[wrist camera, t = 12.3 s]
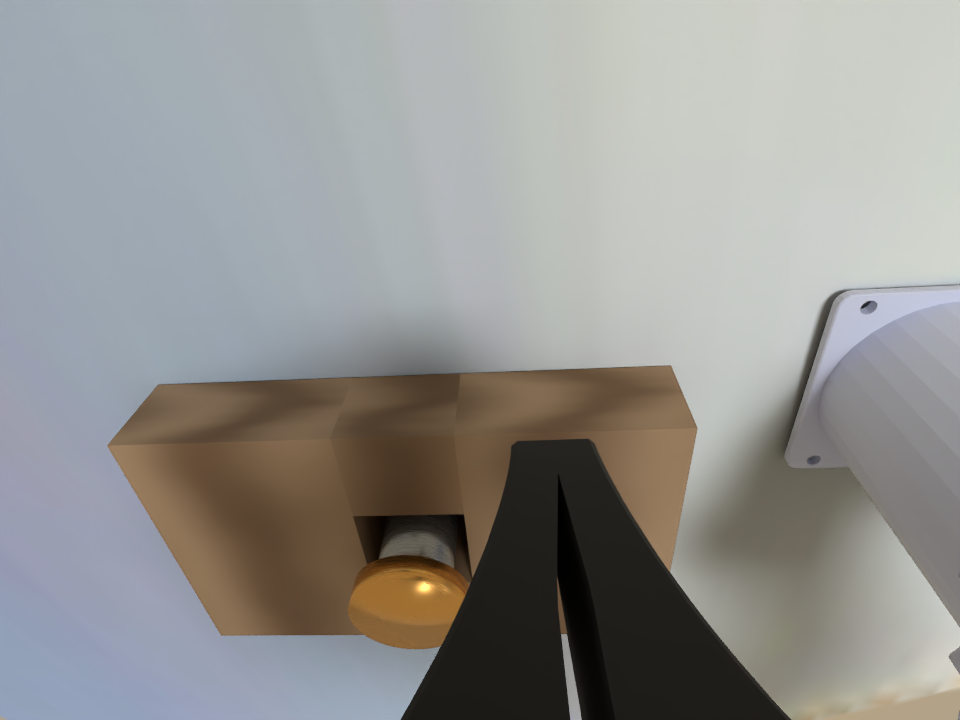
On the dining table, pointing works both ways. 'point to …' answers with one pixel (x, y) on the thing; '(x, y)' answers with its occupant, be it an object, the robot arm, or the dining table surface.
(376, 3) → the dining table surface
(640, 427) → the hitch block
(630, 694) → the robot arm
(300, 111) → the dining table surface
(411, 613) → the pin
